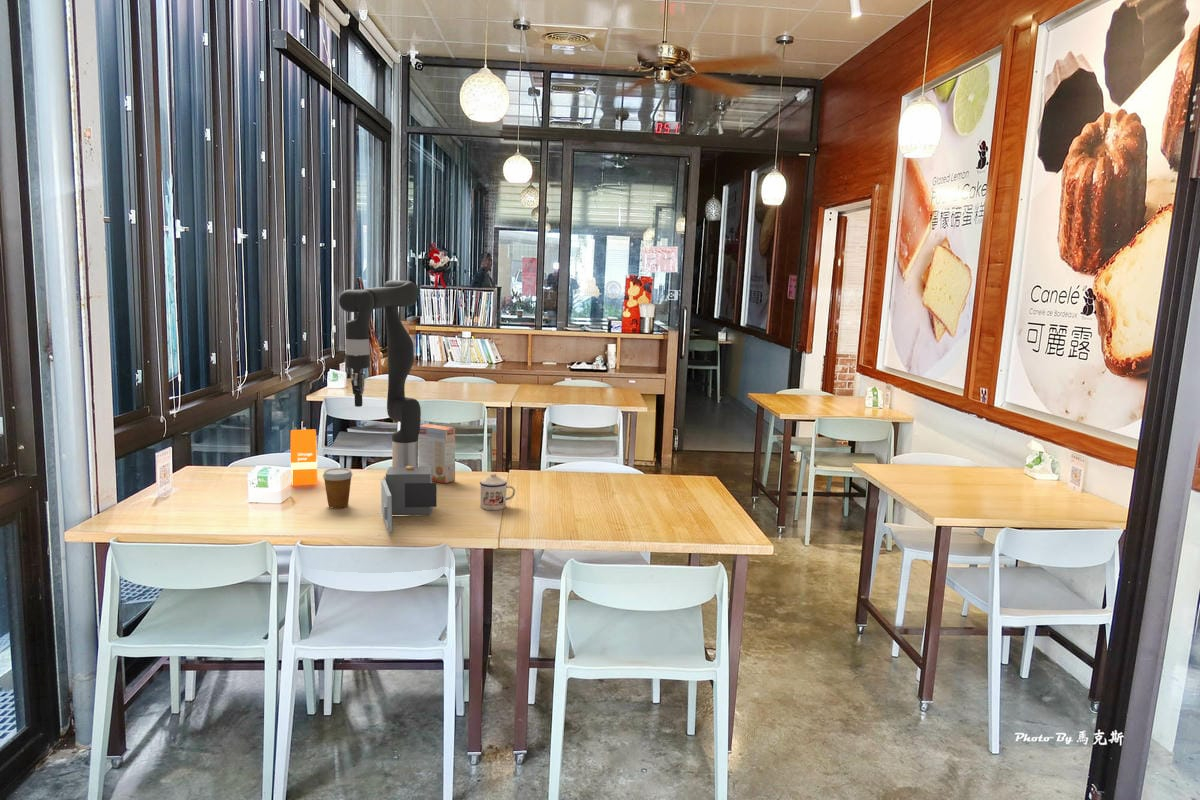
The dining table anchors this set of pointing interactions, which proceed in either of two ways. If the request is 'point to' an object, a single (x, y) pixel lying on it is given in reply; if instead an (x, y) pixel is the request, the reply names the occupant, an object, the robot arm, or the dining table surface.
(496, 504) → the teacup with lid
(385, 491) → the side door
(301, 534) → the dining table surface
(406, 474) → the grey small cabinet
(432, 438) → the cracker box
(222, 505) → the dining table surface
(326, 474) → the disposable coffee cup
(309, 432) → the orange juice
